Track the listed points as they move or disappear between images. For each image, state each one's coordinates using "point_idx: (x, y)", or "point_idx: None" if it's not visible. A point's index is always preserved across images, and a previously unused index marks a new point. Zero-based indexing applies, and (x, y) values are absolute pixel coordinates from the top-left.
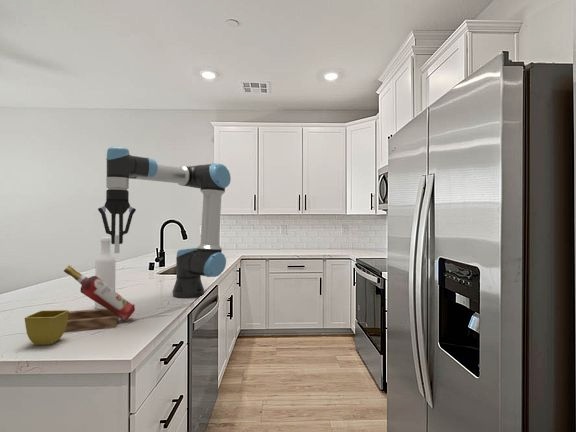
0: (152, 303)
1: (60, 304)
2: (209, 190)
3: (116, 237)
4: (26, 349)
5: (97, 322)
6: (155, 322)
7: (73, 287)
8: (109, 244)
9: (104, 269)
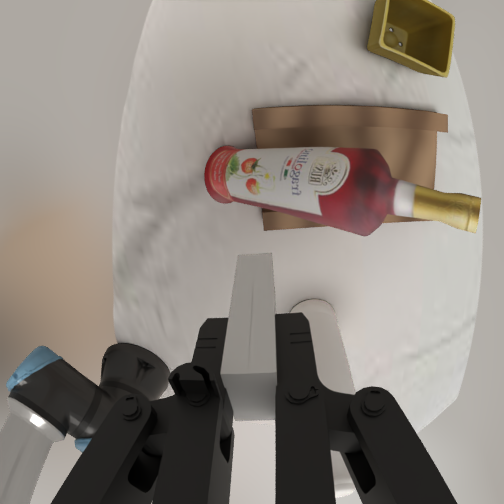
0: (198, 323)
1: (399, 347)
2: None
3: (253, 354)
4: None
5: (302, 106)
6: (152, 136)
7: None
8: None
9: (328, 383)
